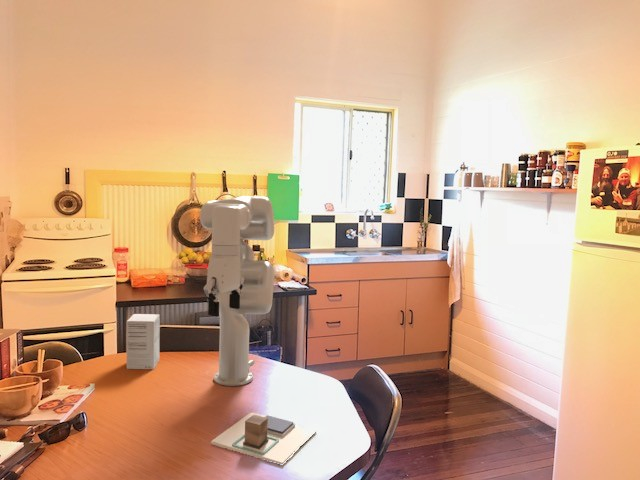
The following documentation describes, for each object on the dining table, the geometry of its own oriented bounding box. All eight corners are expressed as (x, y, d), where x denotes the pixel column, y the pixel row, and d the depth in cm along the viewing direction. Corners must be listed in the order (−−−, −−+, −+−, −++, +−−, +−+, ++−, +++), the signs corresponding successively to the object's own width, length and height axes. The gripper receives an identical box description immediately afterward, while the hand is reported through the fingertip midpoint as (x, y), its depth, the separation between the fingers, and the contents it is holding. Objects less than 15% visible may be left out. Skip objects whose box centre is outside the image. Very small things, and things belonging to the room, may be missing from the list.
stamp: (252, 436, 126) (253, 413, 125) (268, 441, 124) (269, 417, 124) (243, 444, 122) (243, 421, 121) (259, 449, 120) (259, 425, 120)
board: (251, 415, 139) (251, 408, 139) (316, 432, 131) (316, 425, 131) (211, 444, 123) (211, 436, 123) (282, 466, 115) (282, 457, 115)
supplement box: (133, 359, 178) (133, 313, 176) (159, 359, 179) (160, 313, 178) (125, 369, 169) (125, 320, 167) (154, 369, 170) (154, 321, 168)
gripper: (232, 246, 147) (231, 303, 149) (194, 252, 131) (193, 316, 133) (254, 248, 144) (252, 307, 146) (217, 255, 128) (216, 321, 130)
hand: (224, 311), depth 139 cm, fingers open, 9 cm apart
